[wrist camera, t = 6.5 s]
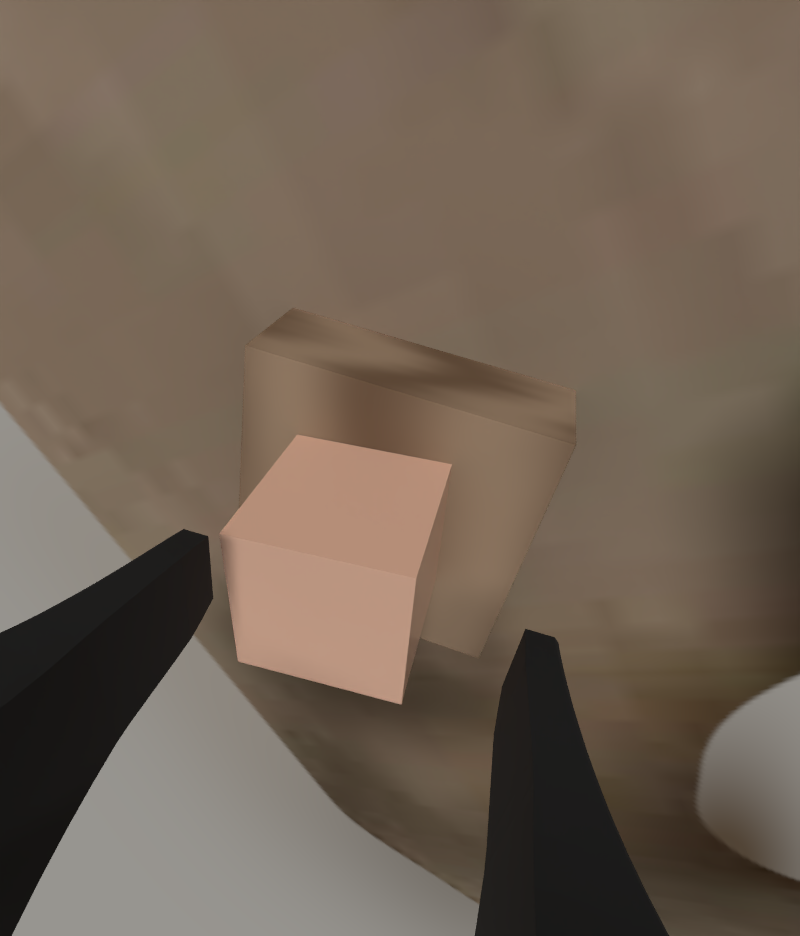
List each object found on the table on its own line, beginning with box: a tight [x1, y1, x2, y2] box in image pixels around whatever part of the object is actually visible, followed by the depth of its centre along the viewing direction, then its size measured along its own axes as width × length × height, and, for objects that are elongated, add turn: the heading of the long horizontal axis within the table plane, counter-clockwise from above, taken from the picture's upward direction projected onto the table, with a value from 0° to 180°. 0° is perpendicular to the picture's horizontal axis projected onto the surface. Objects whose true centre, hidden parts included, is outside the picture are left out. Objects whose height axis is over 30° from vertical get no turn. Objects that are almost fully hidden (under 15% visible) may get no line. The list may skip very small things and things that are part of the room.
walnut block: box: [239, 308, 576, 658], centre depth 21 cm, size 10×10×4 cm
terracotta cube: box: [219, 435, 452, 705], centre depth 17 cm, size 5×5×5 cm
